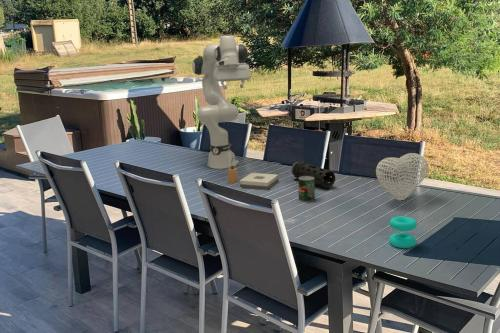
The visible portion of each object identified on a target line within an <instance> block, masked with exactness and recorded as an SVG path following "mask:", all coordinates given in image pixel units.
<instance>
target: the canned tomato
mask: <svg viewBox="0 0 500 333" xmlns="http://www.w3.org/2000/svg"><path fill="white" fill-rule="evenodd" d="M297 179H298V182H297V183H298V201H300V202H306V203H308V202H314V200H315V192H316V190H315V184H314V182H315V181H314V179H315V178H314V177H312V176H301V177H299V178H297Z"/></svg>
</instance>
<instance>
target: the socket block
mask: <svg viewBox="0 0 500 333" xmlns="http://www.w3.org/2000/svg"><path fill="white" fill-rule="evenodd" d="M278 183H279V174H275V173H273V174H272V173H261V172H251V173H249V174H248V175H246V176H244V177H243V178H241V179H240V180H239V188H240V187H242V188H243V189H250V188H252V189H253V190H262V191H263V190H264V191H268V190H270V189H271V188H273V187H274V185H276V184H278ZM242 188H241V189H242Z"/></svg>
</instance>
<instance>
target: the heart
mask: <svg viewBox="0 0 500 333" xmlns="http://www.w3.org/2000/svg"><path fill="white" fill-rule="evenodd" d="M429 170H430V169H429V163H428V161H427V159H426V158H425V157H424V156H423V155H421V154H420V153H419V154H418V153H416V152H415V153H414V152H413V153H412V152H408V153H406V154H404V155H402V156H400V157H391V156H390V157H384V159H382V160H380V161H379V162H378V164H377V166H376V168H375V174H376V178H377V180H378V182H379V183H380V184H381V186H382V187H383V188H384V189H385V190H386V191H387V192H388V193H389V194H390V195H392V197H393V198H395V199H396V200H397V201H399V202H402V201H401V200H403V201H405V200H406V199H407V198H408V197H409V196H410V194H412V193H413V191H414V190H415V189H416V188H417V187H418V186H419V185H420V184H421V183H422V182H423V181H424V180H425V178H426V177H427V175H428V173H429ZM393 178H394V179H393Z"/></svg>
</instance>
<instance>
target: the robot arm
mask: <svg viewBox="0 0 500 333" xmlns="http://www.w3.org/2000/svg"><path fill="white" fill-rule="evenodd" d="M202 54H203V55H202V56H201V55H198V56H197V57H196V58H194V59H193V60H192V63H191V64H192V65H191V68H192V71H193V74H195V75H197V76H201V75H203V77H202V78H201V86H202V91H203V96H204V99H205V101H206V104H208V105H203V106H200V107H199V108H198V110H197V113H196V114H197V115H196V117H197V119H198V121H199V122H200V123H201V124H203V125H204V126H205V127H206V128H207V130H208V132H209V139H210V144H209V150H210V152H208V163H206V166H207V167H209V168H211V169H215V170H216V169H217V170H219V169H220V170H222V169H229V168H231V166H234V168H236V166H237V165H238V163H239V160H238V159H236V155H235V153H234V152H233V151H232V150H231V146H232V144H231V143H230V142H229V133H228V131H227V130H226V129H225V128H223V127H221V126H219V123H228V122H232V121H235V120H237V119H238V117H239V113H240V112H239V109H238V106H237V105H236V104H233V103H231V102H230V101H228V99H226V98H225V96H224V95H223V92H222V89H221V86H222V88H223V90H227V88H228V87H227V85H226V84H225V82H234V81H235V82H236V81H241V84H239V88H240V89H244V84H245V82H246V81H248V80H250V79H251V77H252V76H251V72H250V65H249V64H248V63H246V62H245V61H247V59H248V55H249V52H248V48H247V47H246V46H245V45H244V44H237V42H236V40H235V36H234V34H223V35H221V36H219V44H217V43H210V44H207V45H206V46H205V47H204V49H203V51H202ZM220 84H221V85H220Z"/></svg>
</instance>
